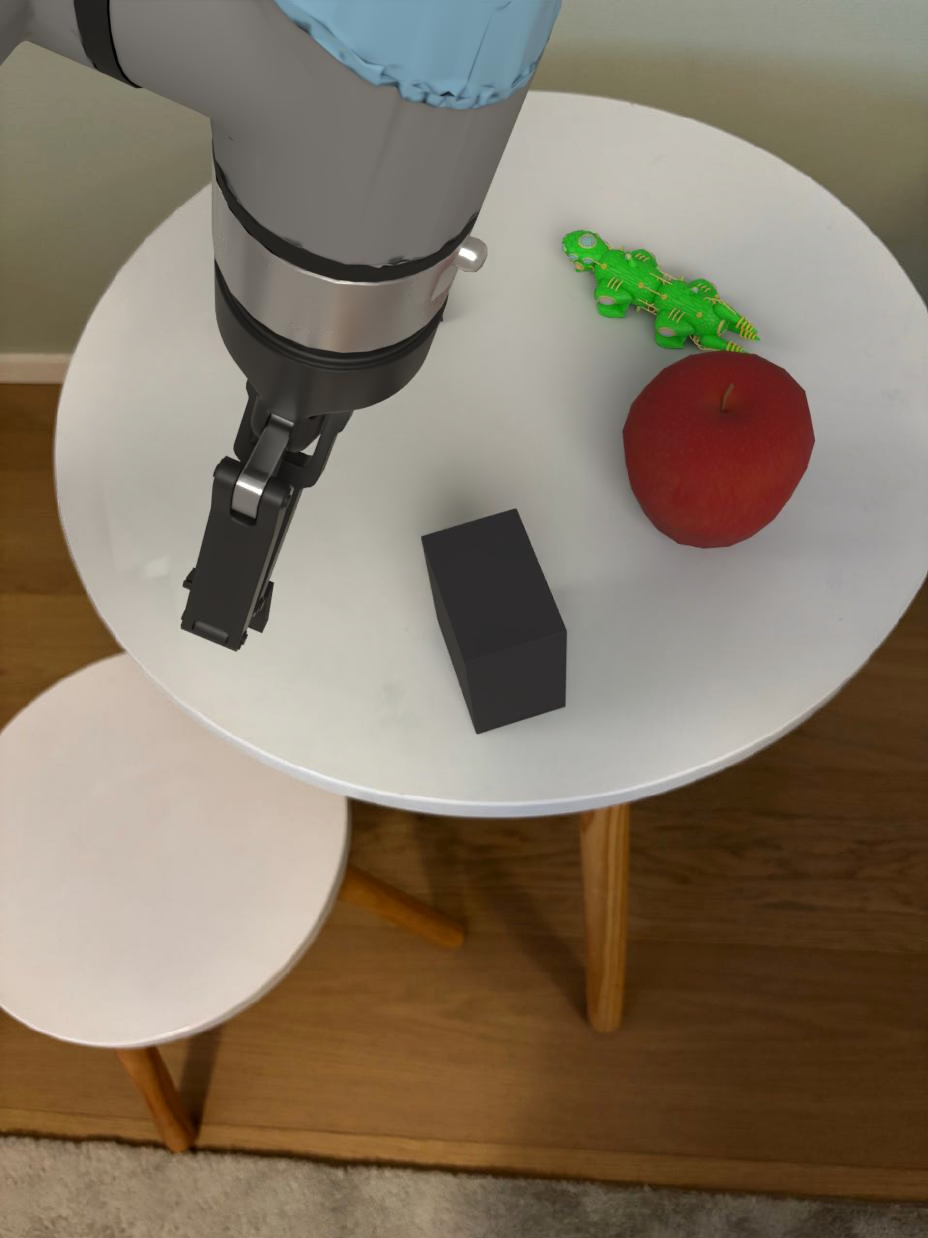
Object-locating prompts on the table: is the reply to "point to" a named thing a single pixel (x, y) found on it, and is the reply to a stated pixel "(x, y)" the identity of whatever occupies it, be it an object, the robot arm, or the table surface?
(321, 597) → the table surface
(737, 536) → the apple
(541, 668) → the pad block
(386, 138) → the robot arm
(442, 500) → the table surface
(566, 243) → the crocodile figurine
